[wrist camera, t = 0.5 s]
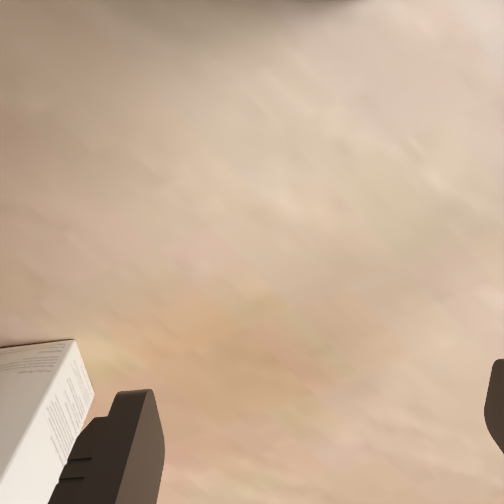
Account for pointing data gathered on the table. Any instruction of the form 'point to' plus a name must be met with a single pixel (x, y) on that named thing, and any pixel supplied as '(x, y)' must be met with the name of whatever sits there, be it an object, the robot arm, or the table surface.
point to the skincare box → (39, 417)
